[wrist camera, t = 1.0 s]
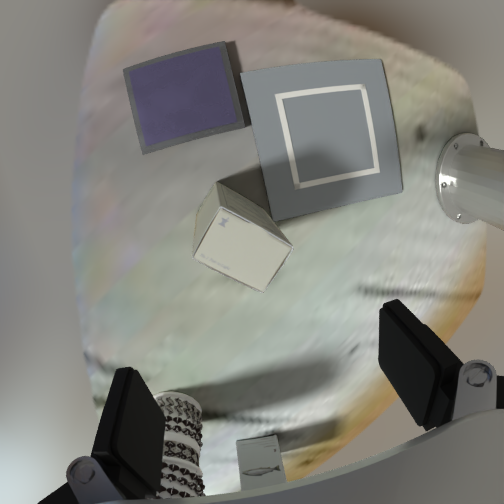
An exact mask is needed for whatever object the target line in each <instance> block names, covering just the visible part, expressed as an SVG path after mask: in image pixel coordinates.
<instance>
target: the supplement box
mask: <svg viewBox="0 0 504 504" xmlns="http://www.w3.org/2000/svg"><path fill="white" fill-rule="evenodd" d="M236 448H237V456H238V465H239V473H240V483H241V491H246V490H252V489H258V488H263V487H268V486H273V485H278V484H282V483H286V482H287V480H286V475H285V471H284V466H283V462H282V457H281V452H280V448H279V443H278V439H277V435H273V436H269V437H263V438H257V439H250V440H242V441H236Z"/></svg>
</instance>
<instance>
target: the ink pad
mask: <svg viewBox="0 0 504 504" xmlns="http://www.w3.org/2000/svg"><path fill="white" fill-rule="evenodd" d="M123 73H124V78H125V83H126V87H127V92H128V96H129V101H130V105H131V110H132V114H133V118H134V122H135V126H136V131H137V135H138V139H139V143H140V146H141V150H142V154H143V155H144V154H147V153H151V152H154V151H157V150H160V149H164V148H167V147H171V146H174V145H177V144H181V143H185V142H188V141H192V140H196V139H199V138H203V137H207V136H211V135H215V134H219V133H224V132H228V131H232V130H236V129H241V128H245V124H244V120H243V115H242V111H241V107H240V103H239V98H238V94H237V90H236V86H235V82H234V77H233V73H232V69H231V65H230V61H229V57H228V53H227V49H226V45H225V41H222V42H217V43H212V44H208V45H203V46H199V47H195V48H191V49H187V50H183V51H179V52H176V53H172V54H168V55H165V56H162V57H158V58H155V59H152V60H149V61H146V62H142V63H139V64H136V65H134V66H131V67H128V68H125V69H123Z"/></svg>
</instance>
